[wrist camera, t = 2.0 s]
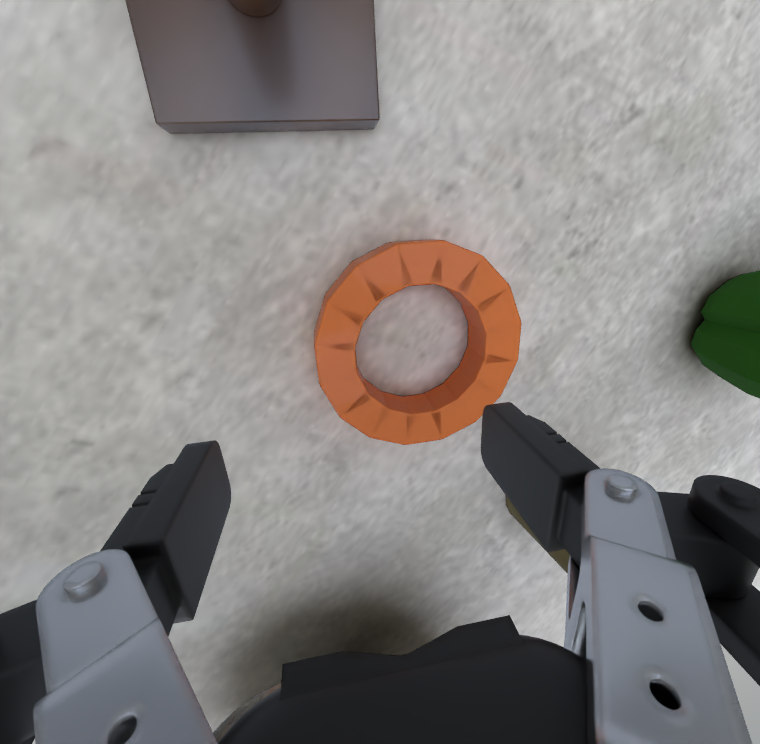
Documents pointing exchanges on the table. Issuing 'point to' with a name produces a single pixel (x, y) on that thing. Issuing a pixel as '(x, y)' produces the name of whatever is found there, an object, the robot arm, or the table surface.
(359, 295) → the orange ridged ring
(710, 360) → the bell pepper
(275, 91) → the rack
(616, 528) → the robot arm
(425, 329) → the table surface
